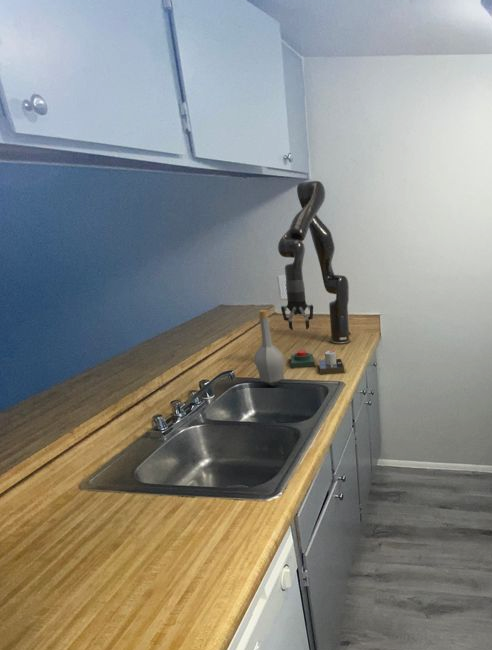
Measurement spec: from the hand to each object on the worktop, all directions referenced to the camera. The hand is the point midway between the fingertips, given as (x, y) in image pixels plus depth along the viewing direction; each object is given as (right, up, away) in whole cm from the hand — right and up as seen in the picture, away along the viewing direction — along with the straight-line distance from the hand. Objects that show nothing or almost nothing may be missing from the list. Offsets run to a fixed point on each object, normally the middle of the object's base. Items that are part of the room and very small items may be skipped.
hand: (299, 329), depth 208 cm
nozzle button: (0, -10, +6) cm, 12 cm away
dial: (+14, -15, -1) cm, 21 cm away
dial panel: (+14, -18, +1) cm, 22 cm away
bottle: (-6, -28, -18) cm, 34 cm away
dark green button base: (0, -14, +7) cm, 16 cm away
